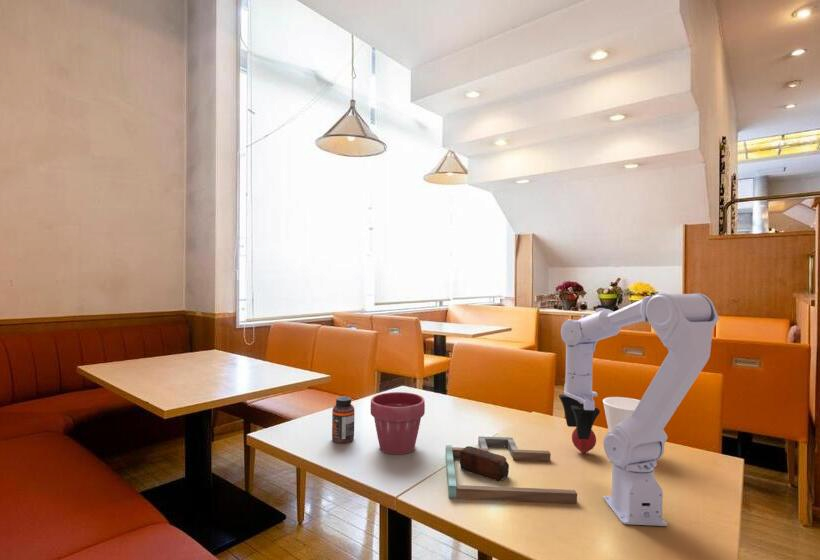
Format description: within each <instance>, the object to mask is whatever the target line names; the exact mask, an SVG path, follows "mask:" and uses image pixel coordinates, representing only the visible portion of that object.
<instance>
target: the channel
mask: <svg viewBox="0 0 820 560" xmlns="http://www.w3.org/2000/svg"><path fill="white" fill-rule="evenodd" d="M477 439H478V440H477V441H478V447H477V448H478V449H480V450H484V451H487V452H490V450H489V447H493V446H494V447H495V446H496V448H497V447H498V448H507V449H508V451H510V452H509V455H510V456H511V458H513V459H512V460H513V461H524V460H532V462H549V461H550V462H551V455H552V454H551V452H550V451H549V450H535V449H534V450H532V449H519V448H518V447H517V444H516V442H515V440H514V438H513V437H507V436H506V437H505V436H504V437H501V436H482V435H481V436H478V438H477ZM504 446H505V447H504ZM464 448H465V447H454V446H453V445H452V444H445V466H446V478H447V492H448V493H447V494H448V498H449V499H464V500H465V499H466V500H482V501H483V500H484V501H485V500H486V501H489V500H490V501H506V500H510V501H511V502H528V501H531V502H533V503H534V502H535V503H551V502H560V503H559V504H574V503H577V504H578V492H577V491H576V489H560V488H559V489H558V488H557V489H556V488H536V487H534V488H533V487H517V486H516V487H513V486H512V487H511V486H492V485H491V486H490V485H468V484H467V485H465V484H464V485H463V484H457V479H456V470H455V462H454V458H455V459H460V452H461V450H463V449H464ZM533 460H534V461H533ZM535 460H536V461H535ZM510 501H509V502H510ZM531 502H530V503H531Z"/></svg>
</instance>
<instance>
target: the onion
mask: <svg viewBox="0 0 820 560" xmlns="http://www.w3.org/2000/svg"><path fill="white" fill-rule="evenodd" d="M571 442H572V443H573V446H574V447H575V448H576V449H577V450H578V451H579V452H580V453H582V454H586V453H588V452H590V451H591V450H593V449H594V447H595V446H596V443H597V437H596V434H595V432H594V430H593V429H591V433H590V436H589V439H579V438H578V435H577V428H576V427H575V429H574V430H573V432H572V434H571Z"/></svg>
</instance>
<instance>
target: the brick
mask: <svg viewBox="0 0 820 560" xmlns="http://www.w3.org/2000/svg"><path fill="white" fill-rule="evenodd" d="M463 448H464V449H463V450H461V452H460V458H459V465H460V470H461V471H465V472H468V473H471V474H473V475H477V476H480V477H483V478H486V479H490V480H492V481H495V482H496V481H497V482H499V481H501V482H502V481H503V480H502V479H505V478H508V477H509V472H510V471H509V469H510V465H509V462H508V461H507V458H506V457H505V456H504V455H501V454H496V453H493V452H490V451H489V452H487V451H484V450H480V449H478V448H479V447H474V446H471V445H470V446H466V447H463Z"/></svg>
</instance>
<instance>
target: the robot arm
mask: <svg viewBox="0 0 820 560" xmlns="http://www.w3.org/2000/svg"><path fill="white" fill-rule="evenodd" d="M719 320H720V318H719V315H718V313H717V309H716V307H715V306H714V303H713V301H712V300H711V298H709V297H708V296H707V295H705V294H703V293H697V292H692V293H666V292H665V293H664V292H659V293H655V294H654V295H649V296H644V297H643V298H642V299H640V300H637V301H635V302H633V303H630V304H628V305H626V306H624V307H621V308H619V309H617V310H615V311H614V310H611V309H608V308H604V307H599V308H598V307H597V308H596V309H595V312H594V313H592V314H582V315H581V316H580V318H579V319H573V318H571V319H567V320H565V321H564V322H563V323H562V325H561V328H560V336H561V340H562V341H563V342H564V343H565V378H564V380H565V382H564V384H563V385H564V388H563V390H564V391H563V394H559V395H558V398H559V399H560V402H561V405H562V406H563V407H562V408H563V411H564V416H565V422H566V425H567V427H568V428H569V427H570V428H575V429H576V428H577V435H578V438H579V439H589V436H590V433H591V429H592V428H593V426H594V423H595V422H596V421H595V420H596V419H597V418H598V416H599V415H600V413H601V410H600V408H598V407H596V406H595V405H596V403H595V402H596V401H595V400H594V397H598V392H596V391H593V373H594V371H593V370H594V369H593V364H594V361H593V360H594V353H595V351H596V345H597V343H598V342H599V341H601V340H605V339H607V338H610V337H614V336H617V335H618V334H619V333H620V332H621V329H622V327H623V328H624V327H627V326H630V325H634V324H638V323H642V322H644V323H647V322H648V323H649V325H650V326H651V327H652V329H653V331H654V332H655V334H656V336H657V337H658V338H659V340H660V341H661V343H662V345H663V346H664V347H665V348H667V351H668V353H667V355H666V356H665V358H664V360H663V361H662V363H661V365H660V367H659V368H658V370H657V371H656V373H655V375H654V376H653V378H652V380H651V381H650V383H649V385H648V387H647V389H646V390H645V392H644V393H643V395H642V397H641V399H639V400H640V402H639V404H638V405H637V407H636V409H635V410H634V412H633V414H632V416H630V417H629V418H627V419H626V420H624V421H622V422H621V423H619V424H618V425H617V426H616V428H615V429H614V430H613V431H611V432H609V431H608V432H607V433H606V434H605V436H604V438H603V450H604V453H605V455H606V457H607V458H608V460H609V463H610V464H612V465H611V466H612V467H611V468H612V469H611V495H604V496H603V500H604V501H605V502H606V503H607V505H608V506H609V508H610V509H611V510H612V511H613V513H614V514H615V515H616V517H617V518H618V519H619V522H621V523H622V524H624V525H635V526H636V525H637V526H638V525H639V526H657V527H666V526H668V523H667V521H666V520H665V519H664V518H663V496H664V494H663V493H664V492H663V489H662V487H661V486H660V484H659V482H658V481H657V479H656V477H655V468H656V467H657V461H658V460H661V458H662V457H663V455H664V454H665V453H664V451H665V445H666V441H667V440H668V438H669V437H668V435H667V433H666V432H665V430H664V429H665V428H666V426H667V425H668V423H669V421H670V420H671V418H672V417H673V416H674V414H675V412H676V410H677V409H678V408H679V406H680V404H681V402H682V401H683V400H684V398H685V396H686V395H687V393H688V392H689V391H690V389H691V387H692V386H693V384H694V383H695V381H696V380H697V378H698V376H699V375H700V374H701V372H702V371H703V369H704V367H705V366H706V364H707V363H708V361H709V359H710V357H711V351H712V350H711V348H712V342H713V341H712V339H713V329H714V328H715V327H716V325H717V323H718V321H719ZM592 430H593V429H592Z"/></svg>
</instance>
